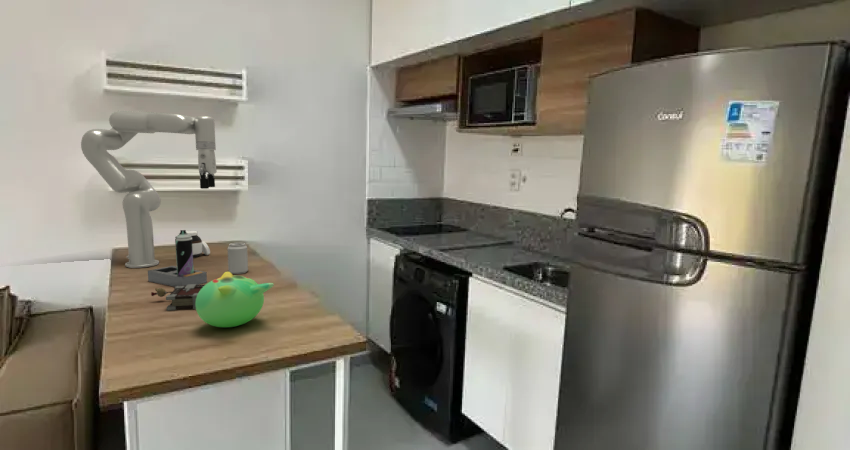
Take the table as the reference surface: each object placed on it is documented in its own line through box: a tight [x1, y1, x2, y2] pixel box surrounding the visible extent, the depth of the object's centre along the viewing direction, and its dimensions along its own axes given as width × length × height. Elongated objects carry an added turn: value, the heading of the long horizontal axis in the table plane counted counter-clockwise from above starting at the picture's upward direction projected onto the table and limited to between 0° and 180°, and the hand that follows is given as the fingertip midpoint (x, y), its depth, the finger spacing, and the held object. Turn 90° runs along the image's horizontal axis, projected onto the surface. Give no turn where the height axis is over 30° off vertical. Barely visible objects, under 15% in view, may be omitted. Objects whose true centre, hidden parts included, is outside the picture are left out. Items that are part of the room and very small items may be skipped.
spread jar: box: [186, 230, 211, 259], centre depth 230 cm, size 12×11×12 cm
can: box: [226, 242, 249, 275], centre depth 199 cm, size 8×8×12 cm
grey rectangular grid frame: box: [147, 265, 208, 288], centre depth 183 cm, size 20×10×4 cm, turn 61°
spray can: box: [174, 229, 195, 276], centre depth 180 cm, size 6×6×20 cm
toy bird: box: [195, 271, 275, 328], centre depth 137 cm, size 18×17×15 cm
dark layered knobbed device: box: [150, 284, 206, 312], centre depth 158 cm, size 15×25×5 cm, turn 103°
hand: (207, 187), depth 207 cm, fingers open, 9 cm apart
